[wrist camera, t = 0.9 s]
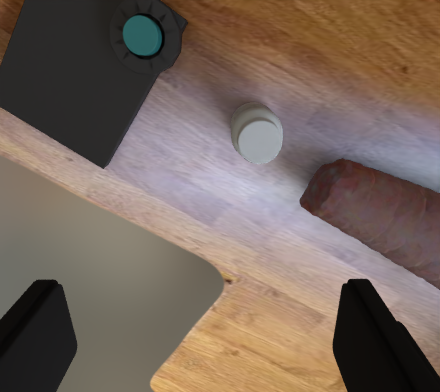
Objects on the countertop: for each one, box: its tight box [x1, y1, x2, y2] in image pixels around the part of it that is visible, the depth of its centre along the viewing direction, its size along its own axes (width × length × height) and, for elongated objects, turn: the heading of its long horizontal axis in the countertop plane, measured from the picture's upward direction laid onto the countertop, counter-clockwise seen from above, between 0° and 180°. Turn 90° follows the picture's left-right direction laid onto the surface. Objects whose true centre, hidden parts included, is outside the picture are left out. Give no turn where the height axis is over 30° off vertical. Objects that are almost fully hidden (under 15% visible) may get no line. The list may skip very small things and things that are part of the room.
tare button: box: [123, 15, 162, 56], centre depth 25 cm, size 3×3×2 cm
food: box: [300, 158, 440, 290], centre depth 30 cm, size 21×9×9 cm, turn 69°
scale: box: [0, 0, 188, 169], centre depth 28 cm, size 16×13×3 cm
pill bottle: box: [230, 102, 283, 164], centre depth 27 cm, size 4×4×8 cm
